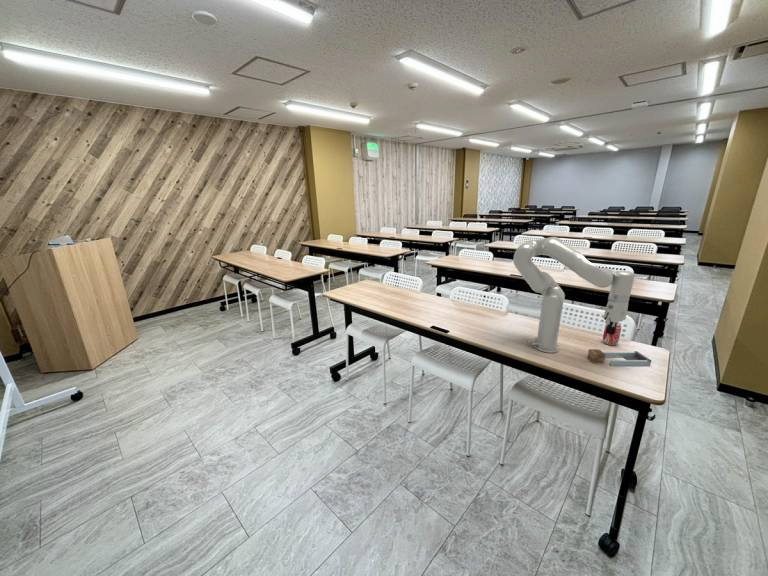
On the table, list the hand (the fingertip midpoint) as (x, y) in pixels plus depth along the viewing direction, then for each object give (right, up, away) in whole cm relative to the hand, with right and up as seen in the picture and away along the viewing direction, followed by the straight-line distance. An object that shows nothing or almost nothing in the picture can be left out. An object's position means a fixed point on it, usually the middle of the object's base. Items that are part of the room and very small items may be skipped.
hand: (610, 333), depth 143 cm
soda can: (+16, -9, +22) cm, 28 cm away
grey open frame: (+9, -14, +4) cm, 17 cm away
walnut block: (-4, -14, +5) cm, 16 cm away
